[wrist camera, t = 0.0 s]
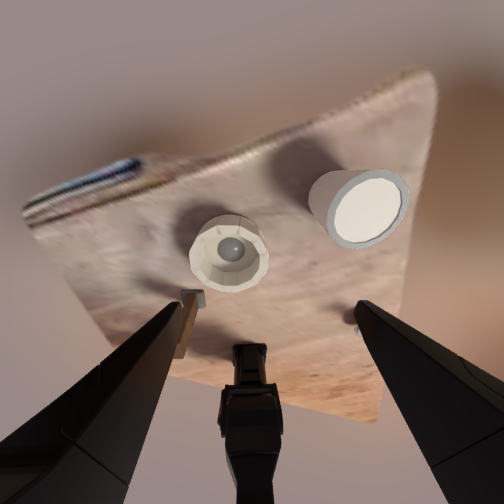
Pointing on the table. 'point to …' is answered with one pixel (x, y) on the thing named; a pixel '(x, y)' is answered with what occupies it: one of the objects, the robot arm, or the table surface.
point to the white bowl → (229, 254)
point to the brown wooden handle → (188, 318)
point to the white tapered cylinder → (359, 205)
